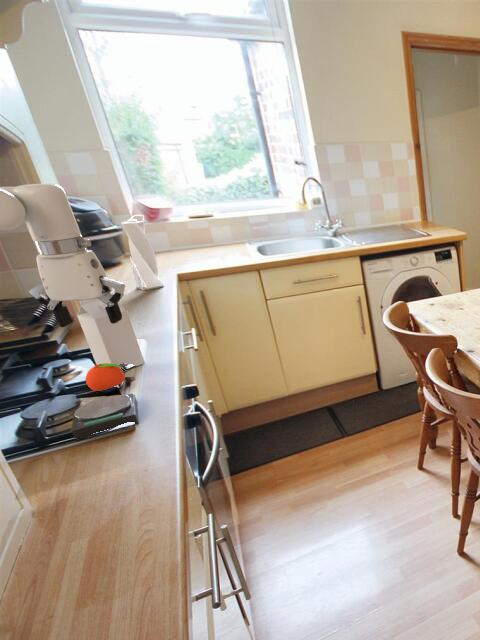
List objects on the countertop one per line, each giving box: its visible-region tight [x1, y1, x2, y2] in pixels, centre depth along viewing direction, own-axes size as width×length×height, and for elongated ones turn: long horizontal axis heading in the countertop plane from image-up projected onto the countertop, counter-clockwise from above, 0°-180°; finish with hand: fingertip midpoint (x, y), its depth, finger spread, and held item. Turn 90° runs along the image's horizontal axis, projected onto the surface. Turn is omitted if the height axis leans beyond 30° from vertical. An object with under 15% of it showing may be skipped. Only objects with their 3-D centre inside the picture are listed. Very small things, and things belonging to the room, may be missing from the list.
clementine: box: [85, 363, 127, 392], centre depth 108 cm, size 8×7×7 cm
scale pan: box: [73, 394, 132, 421], centre depth 97 cm, size 9×9×1 cm
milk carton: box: [76, 292, 146, 367], centre depth 117 cm, size 7×7×19 cm
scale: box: [70, 392, 140, 439], centre depth 97 cm, size 11×10×3 cm
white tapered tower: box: [120, 213, 165, 292], centre depth 180 cm, size 8×8×28 cm
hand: (92, 323), depth 103 cm, fingers open, 9 cm apart
